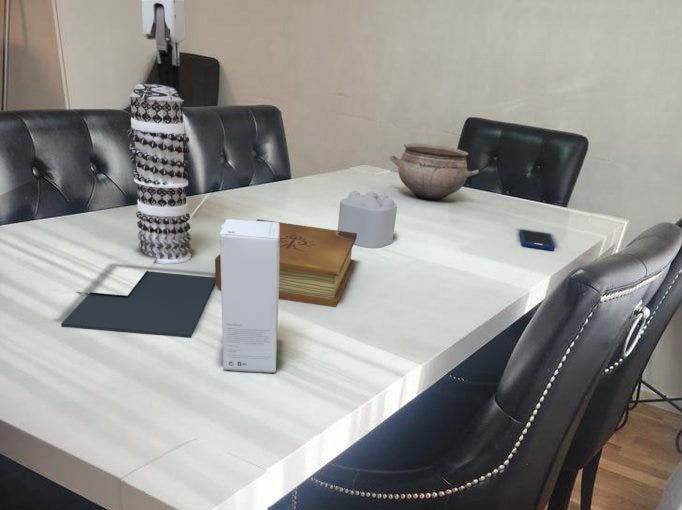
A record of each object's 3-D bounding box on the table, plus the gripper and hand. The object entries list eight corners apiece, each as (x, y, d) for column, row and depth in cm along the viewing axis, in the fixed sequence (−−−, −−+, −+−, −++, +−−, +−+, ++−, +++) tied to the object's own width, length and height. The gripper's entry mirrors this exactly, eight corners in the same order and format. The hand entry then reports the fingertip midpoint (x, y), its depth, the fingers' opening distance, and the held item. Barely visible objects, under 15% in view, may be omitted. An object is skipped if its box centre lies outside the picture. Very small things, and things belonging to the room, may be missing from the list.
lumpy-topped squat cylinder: (330, 238, 132) (334, 193, 127) (359, 228, 142) (363, 185, 137) (376, 250, 128) (382, 203, 124) (402, 238, 138) (408, 195, 134)
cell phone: (521, 245, 144) (522, 242, 144) (519, 232, 155) (519, 228, 155) (554, 251, 143) (555, 247, 143) (549, 236, 155) (550, 233, 154)
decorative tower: (142, 265, 105) (127, 86, 91) (133, 248, 112) (119, 79, 98) (198, 264, 109) (193, 91, 95) (187, 248, 115) (180, 85, 101)
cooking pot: (376, 194, 176) (381, 144, 169) (395, 185, 191) (401, 139, 184) (466, 211, 170) (475, 160, 164) (478, 200, 186) (487, 153, 179)
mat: (61, 326, 82) (61, 323, 81) (113, 270, 101) (113, 267, 101) (190, 337, 83) (190, 334, 83) (216, 280, 103) (216, 277, 103)
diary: (252, 251, 118) (253, 218, 115) (353, 266, 117) (357, 233, 114) (215, 289, 99) (214, 251, 96) (335, 307, 98) (339, 269, 95)
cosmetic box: (275, 374, 77) (280, 239, 68) (218, 371, 76) (216, 233, 67) (277, 346, 84) (282, 220, 75) (225, 343, 83) (224, 215, 74)
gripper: (148, -49, 101) (156, 88, 111) (123, -61, 89) (135, 94, 99) (197, -42, 102) (201, 93, 112) (179, -53, 89) (185, 100, 100)
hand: (170, 93), depth 105 cm, fingers closed
